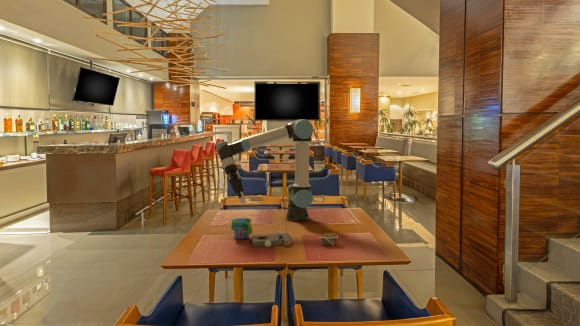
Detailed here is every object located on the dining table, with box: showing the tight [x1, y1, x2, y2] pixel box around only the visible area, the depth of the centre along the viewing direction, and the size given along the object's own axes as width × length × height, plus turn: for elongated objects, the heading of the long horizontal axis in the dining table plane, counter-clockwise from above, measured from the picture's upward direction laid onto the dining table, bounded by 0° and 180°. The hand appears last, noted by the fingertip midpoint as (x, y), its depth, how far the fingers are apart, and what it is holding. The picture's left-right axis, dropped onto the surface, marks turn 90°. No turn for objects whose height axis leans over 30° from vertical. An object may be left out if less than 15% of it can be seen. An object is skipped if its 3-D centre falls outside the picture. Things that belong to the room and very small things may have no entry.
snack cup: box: [230, 217, 253, 240], centre depth 237 cm, size 16×10×10 cm
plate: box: [250, 232, 293, 248], centre depth 229 cm, size 20×13×2 cm, turn 100°
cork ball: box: [284, 239, 292, 247], centre depth 220 cm, size 4×4×4 cm
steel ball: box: [276, 229, 285, 237], centre depth 229 cm, size 4×4×4 cm
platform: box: [318, 232, 339, 246], centre depth 221 cm, size 12×18×7 cm, turn 96°
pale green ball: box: [264, 240, 272, 248], centre depth 219 cm, size 4×4×4 cm
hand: (243, 202), depth 246 cm, fingers closed
